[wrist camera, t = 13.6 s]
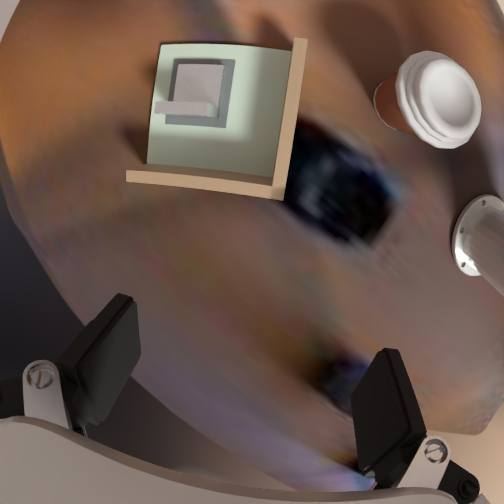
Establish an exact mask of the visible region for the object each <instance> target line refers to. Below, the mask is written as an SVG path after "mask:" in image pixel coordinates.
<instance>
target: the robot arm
mask: <svg viewBox="0 0 504 504" xmlns="http://www.w3.org/2000/svg"><path fill="white" fill-rule="evenodd" d="M452 254H453V258H454V261H455V263H456V265H457V266H458V268H459V269H460V270H461V271H463V272H464V273H465V274H467V275H470V276H478V275H482V276H483V277H484V278H485V279H486V280H487V281H488V282H489V283H490V284H491V285H492V286H494V287H495V288H496V289H497V290H498V291H499V292H500V293H501V294H502V295H503V296H504V203H503V202H502V200H500V199H499V198H497V197H495V196H493V195H488V194H485V195H480V196H478V197H476V198H474V199H473V200H472V201H470V202H469V204H468V205H467V206H466V207H465V208H464V210H463V211H462V213H461V214H460V216H459V218H458V220H457V223H456V225H455V228H454V232H453V237H452ZM140 355H141V347H140V338H139V327H138V314H137V303H136V302H134V301H133V298H132V297H130V296H127V295H124V294H120V293H118V294H116V295H115V297H114V298H113V299H112V300H111V301H110V302H109V303H108V304H107V305H106V307H105V308H104V309H103V310H102V311H101V312H100V313H99V314H98V316H97V317H96V318H95V319H94V320H92V321H90V322H89V323H88V325H87V326H86V327H85V328H84V329H83V330H82V332H81V333H80V334H79V335H78V336H77V337H76V339H75V340H74V341H73V342H72V343H71V345H70V346H69V347H68V348H67V349H66V351H65V352H64V353H63V354H62V356H61V357H60V358H59V359H58V361H57V362H56V363H55V364H53V363H51V362H49V361H46V360H38V361H35V362H33V363H31V364H29V365H28V366H27V367H26V369H25V371H24V373H23V377H18V378H12V379H6V380H0V504H490V503H489V501H488V500H487V499H486V498H485V496H484V495H483V494H480V495H479V491H480V487H479V482H478V480H477V478H476V477H475V476H474V475H472V474H471V473H469V472H468V471H466V470H465V469H463V468H462V467H460V466H459V465H457V464H456V463H454V462H453V461H451V460H450V456H451V450H450V447H449V445H448V443H447V442H446V441H445V440H444V439H443V438H441V437H439V436H434V435H432V436H429V437H427V435H426V432H427V431H426V427H425V424H424V421H423V418H422V415H421V411H420V408H419V405H418V402H417V399H416V396H415V393H414V390H413V388H412V385H411V382H410V379H409V376H408V374H407V371H406V368H405V366H404V363H403V360H402V358H401V355H400V353H399V351H398V350H397V349H390V348H384V349H382V351H379V352H378V353H377V354H376V356H375V358H374V359H373V361H372V363H371V364H370V366H369V368H368V369H367V371H366V373H365V374H364V376H363V377H362V379H361V381H360V382H359V384H358V385H357V387H356V388H355V390H354V391H353V393H352V395H351V408H352V415H353V422H354V429H355V437H356V446H357V454H358V464H359V469H360V470H362V472H363V477H365V476H375V482H374V484H373V485H372V487H371V488H370V489H369V490H368V491H350V492H297V491H282V490H271V489H262V488H254V487H247V486H240V485H234V484H228V483H223V482H218V481H213V480H209V479H204V478H200V477H196V476H192V475H188V474H184V473H180V472H177V471H173V470H170V469H166V468H163V467H160V466H157V465H154V464H151V463H148V462H145V461H142V460H140V459H137V458H134V457H132V456H129V455H127V454H124V453H121V452H119V451H116V450H114V449H111V448H109V447H107V446H104V445H102V444H100V443H98V442H95V441H93V440H91V439H89V438H87V435H86V432H85V428H84V427H85V426H86V424H87V422H90V423H92V424H95V425H97V426H98V424H99V422H100V420H101V421H104V420H105V419H106V417H107V416H108V414H109V412H110V410H111V408H112V406H113V404H114V403H115V401H116V399H117V397H118V396H119V394H120V392H121V390H122V388H123V386H124V384H125V383H126V381H127V379H128V378H129V376H130V374H131V372H132V371H133V369H134V367H135V365H136V364H137V362H138V360H139V358H140Z"/></svg>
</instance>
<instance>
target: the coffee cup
mask: <svg viewBox="0 0 504 504" xmlns="http://www.w3.org/2000/svg"><path fill="white" fill-rule="evenodd" d="M373 102H374V109H375V111H376V113H377V115H378V117H379V119H380V120H381V121H382V122H383V123H384V124H385V125H386V126H388V127H390V128H392V129H395V130H399V131H403V132H407V133H411V134H415V135H417V136H418V137H419V138H420V139H421V140H423V141H425V142H427V143H429V144H430V145H432V146H434V147H437V148H450V149H454V148H456V147H458V146H460V145H462V144H464V143H466V142H467V141H468V140H469V138H470V137H471V136H472V134H473V133H474V131H475V129H476V127H477V126H478V125H479V121H480V116H481V102H480V95H479V93H478V90H477V88H476V85H475V83H474V81H473V79H472V78H471V77H470V76H469V74H468V73H467V72H466V70H465V69H464V68H462V67H461V66H460V65H459V64H458V63H456V62H455V61H453V60H452V59H450V58H449V57H447V56H446V55H444V54H442V53H437V52H432V51H427V50H426V51H423V52H419V53H416V54H413V55H410V56H409V57H408V58H407V59H406V60H405V62H404V63H403V64H402V65H401V66H400V67H399V71H398V72H397V73H395V74H394V75H392V76H391V77H389V78H388V79H386V80H385V81H383V82H381V83H380V84H379V86H378V87H377V88H376V89H375V93H374V97H373Z"/></svg>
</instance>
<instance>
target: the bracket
mask: <svg viewBox="0 0 504 504" xmlns="http://www.w3.org/2000/svg"><path fill="white" fill-rule="evenodd" d="M225 69H226V67H225V66H224V65H211V64H178V70H177V77H176V84H175V91H174V99H173V101H156V102H155V111H154V114H163V115H172V116H192V117H208V118H219V111H220V103H221V96H222V89H223V82H224V75H225Z"/></svg>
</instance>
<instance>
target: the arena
mask: <svg viewBox="0 0 504 504" xmlns="http://www.w3.org/2000/svg"><path fill="white" fill-rule="evenodd" d="M307 42H308V39H303V38H298V37H295V38H294V43H293V47H292V51H286V50H279V49H271V48H263V47H253V46H242V45H226V44H170V45H161V50H160V56H159V61H158V67H157V74H156V80H155V87H154V94H153V102H152V111H151V120H150V130H149V141H148V155H147V164H144V165H141V166H137V167H134V168H131V169H128V170H127V172H126V181H127V182H139V183H150V184H160V185H170V186H180V187H189V188H197V189H205V190H213V191H221V192H229V193H236V194H243V195H250V196H257V197H263V198H270V199H276V200H282V201H283V197H284V192H285V186H286V180H287V174H288V168H289V162H290V156H291V149H292V143H293V137H294V131H295V124H296V118H297V111H298V105H299V98H300V91H301V84H302V78H303V71H304V63H305V56H306V49H307ZM178 64H211V65H224V66H225V67H226V69H225V75H224V82H223V89H222V96H221V103H220V111H219V118H208V117H192V116H172V115H163V114H154V111H155V102H156V101H173V99H174V91H175V84H176V77H177V70H178Z"/></svg>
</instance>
